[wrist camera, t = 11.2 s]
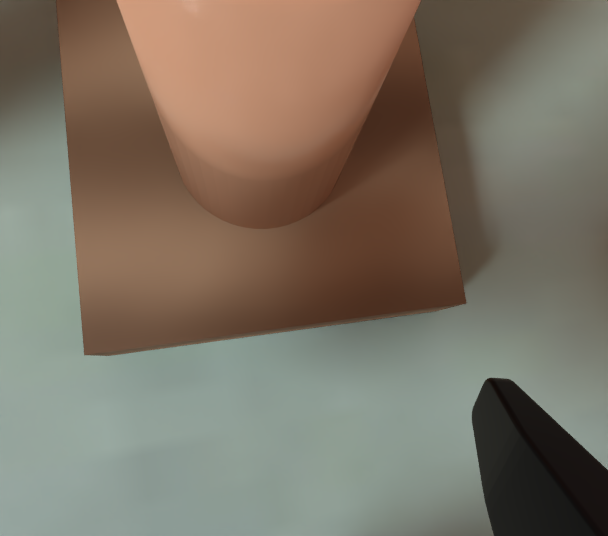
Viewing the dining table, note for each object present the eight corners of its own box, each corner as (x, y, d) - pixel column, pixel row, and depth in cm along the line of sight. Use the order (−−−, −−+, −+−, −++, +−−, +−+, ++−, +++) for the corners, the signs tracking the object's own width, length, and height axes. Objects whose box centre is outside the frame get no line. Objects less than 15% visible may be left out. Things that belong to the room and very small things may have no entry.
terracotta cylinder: (373, 185, 18) (548, -78, 8) (221, 258, 17) (173, 76, 7) (296, 45, 19) (357, -381, 8) (145, 108, 18) (-9, -278, 7)
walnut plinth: (435, 311, 21) (466, 303, 18) (108, 355, 20) (84, 355, 17) (384, 20, 23) (405, -30, 20) (81, 41, 21) (55, -10, 18)
